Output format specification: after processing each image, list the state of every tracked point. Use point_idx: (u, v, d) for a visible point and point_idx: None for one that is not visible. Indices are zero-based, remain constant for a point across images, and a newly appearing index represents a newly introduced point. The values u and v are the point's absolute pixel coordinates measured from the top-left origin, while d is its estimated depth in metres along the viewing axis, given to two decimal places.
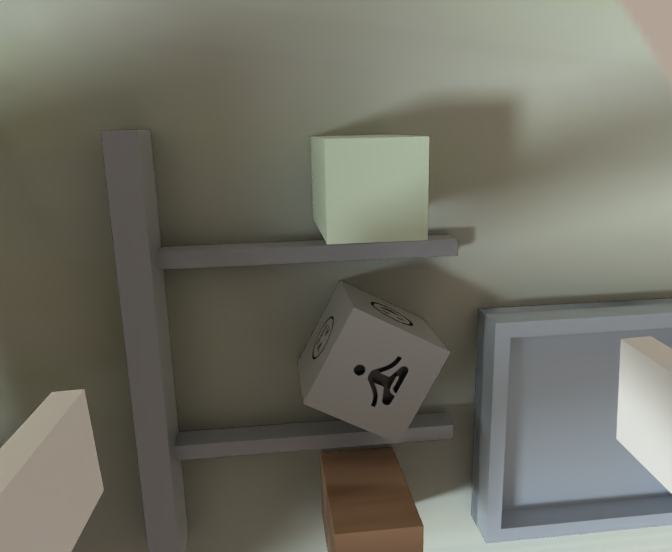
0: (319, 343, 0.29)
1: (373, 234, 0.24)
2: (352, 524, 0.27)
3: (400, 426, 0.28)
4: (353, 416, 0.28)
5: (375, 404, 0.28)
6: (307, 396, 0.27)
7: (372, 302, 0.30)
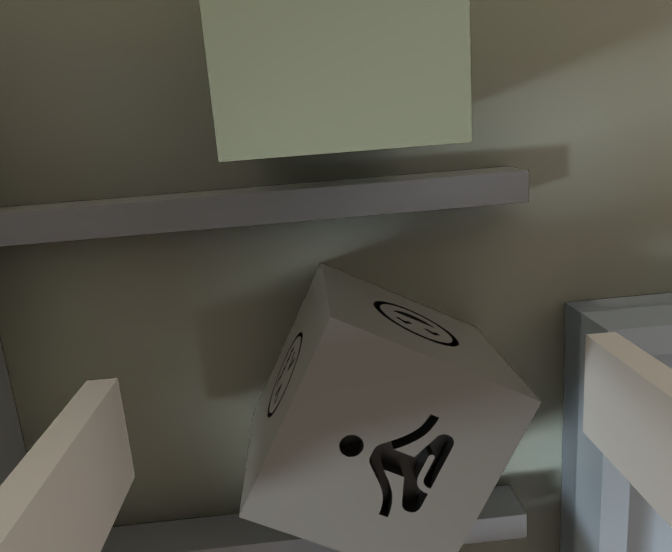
0: (279, 385, 0.15)
1: (334, 132, 0.09)
2: None
3: (441, 551, 0.14)
4: (344, 537, 0.14)
5: (388, 511, 0.14)
6: (245, 502, 0.13)
7: (378, 302, 0.16)
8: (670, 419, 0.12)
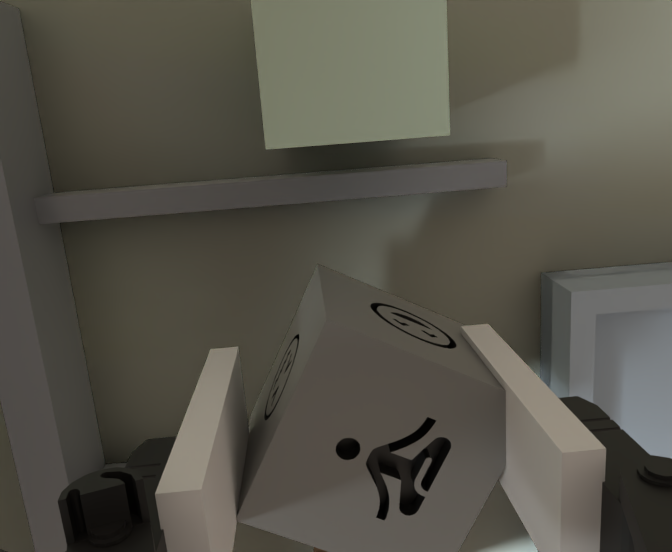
0: (276, 387, 0.15)
1: (349, 128, 0.13)
2: None
3: None
4: (341, 540, 0.14)
5: (385, 514, 0.14)
6: (241, 505, 0.13)
7: (376, 304, 0.16)
8: None
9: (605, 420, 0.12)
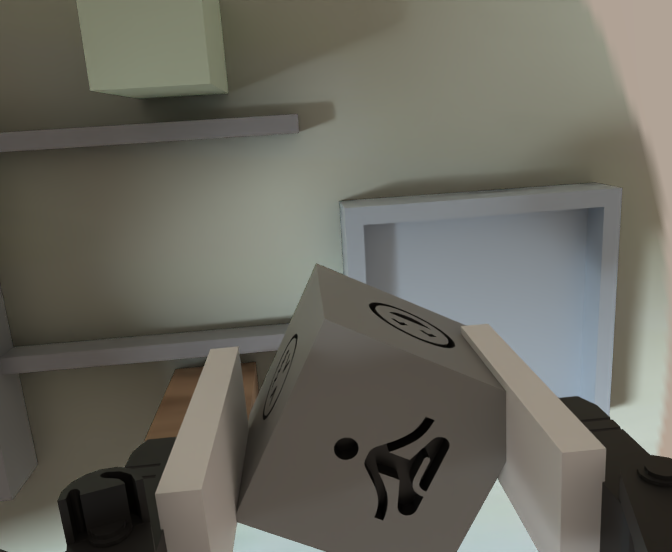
0: (274, 387, 0.15)
1: (144, 77, 0.20)
2: (170, 430, 0.24)
3: None
4: (339, 540, 0.13)
5: (384, 514, 0.14)
6: (240, 505, 0.13)
7: (374, 303, 0.16)
8: None
9: (605, 420, 0.12)
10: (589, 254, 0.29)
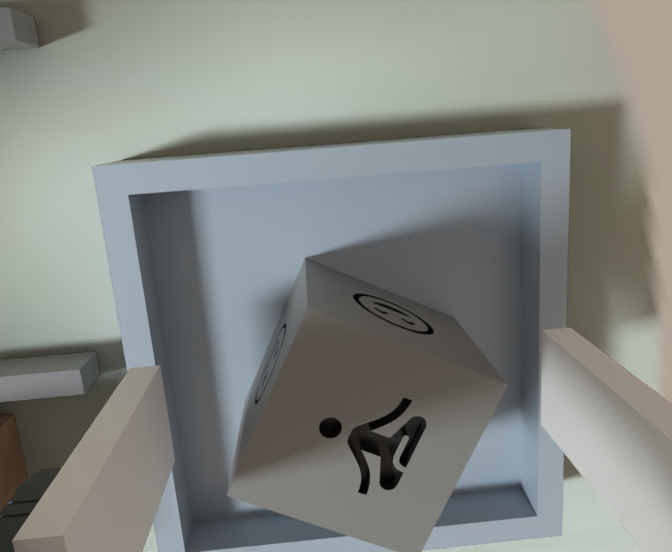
0: (265, 373, 0.16)
1: None
2: None
3: (418, 527, 0.15)
4: (326, 513, 0.15)
5: (367, 489, 0.15)
6: (232, 481, 0.14)
7: (358, 294, 0.17)
8: (611, 410, 0.12)
9: None
10: (525, 242, 0.18)
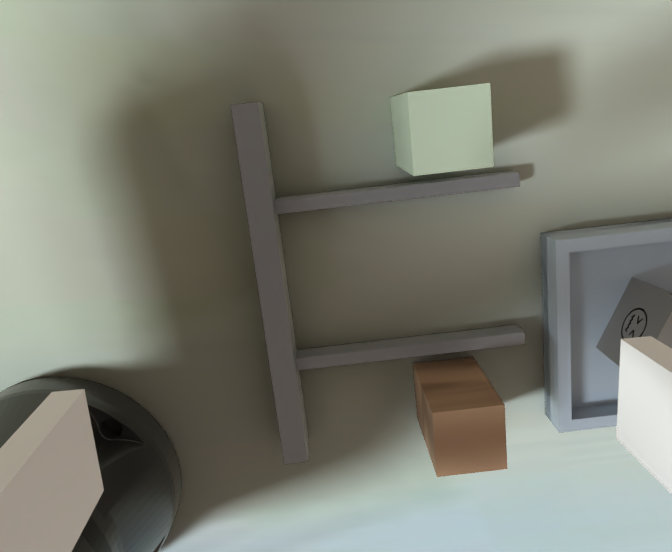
0: (630, 330, 0.36)
1: (449, 165, 0.30)
2: (445, 406, 0.34)
3: None
4: None
5: None
6: None
7: (669, 293, 0.36)
8: None
9: None
10: None
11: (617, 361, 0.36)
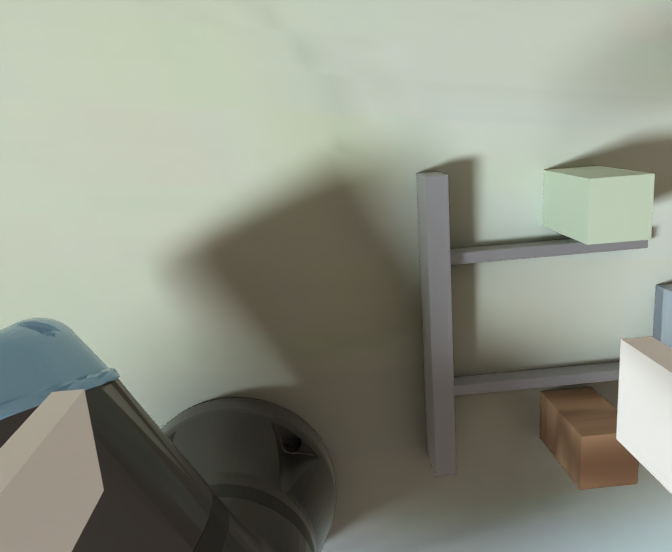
0: None
1: (616, 237, 0.37)
2: (590, 431, 0.41)
3: None
4: None
5: None
6: None
7: None
8: None
9: None
10: None
11: None
